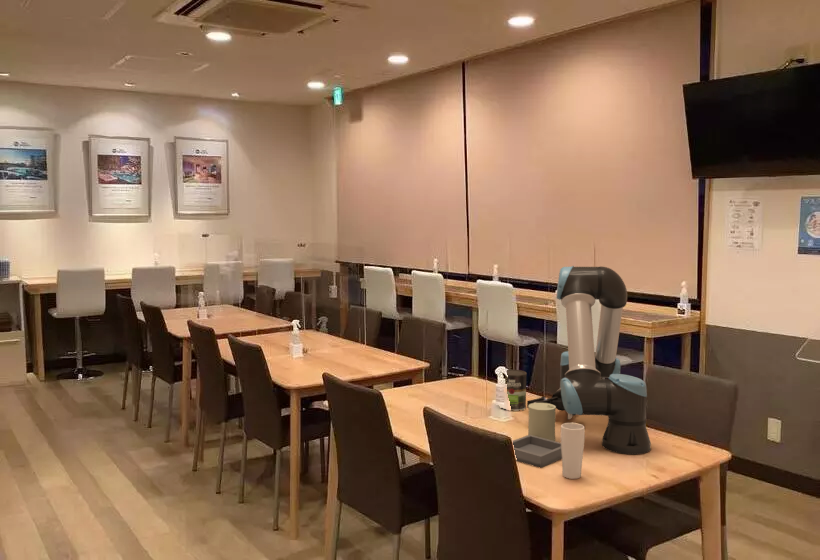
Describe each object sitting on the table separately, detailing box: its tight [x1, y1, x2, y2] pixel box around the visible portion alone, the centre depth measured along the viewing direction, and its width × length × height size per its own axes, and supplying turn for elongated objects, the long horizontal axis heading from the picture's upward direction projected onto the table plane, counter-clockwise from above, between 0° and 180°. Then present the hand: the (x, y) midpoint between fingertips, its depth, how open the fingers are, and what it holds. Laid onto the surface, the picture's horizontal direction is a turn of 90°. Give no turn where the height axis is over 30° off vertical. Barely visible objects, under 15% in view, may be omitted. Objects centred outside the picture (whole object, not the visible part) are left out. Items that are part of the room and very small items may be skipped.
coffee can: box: [506, 369, 528, 412], centre depth 286 cm, size 10×10×14 cm
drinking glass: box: [560, 422, 586, 480], centre depth 213 cm, size 7×7×15 cm
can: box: [527, 403, 557, 441], centre depth 247 cm, size 9×9×12 cm
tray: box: [512, 434, 562, 469], centre depth 231 cm, size 15×15×4 cm
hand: (549, 413), depth 256 cm, fingers open, 13 cm apart
